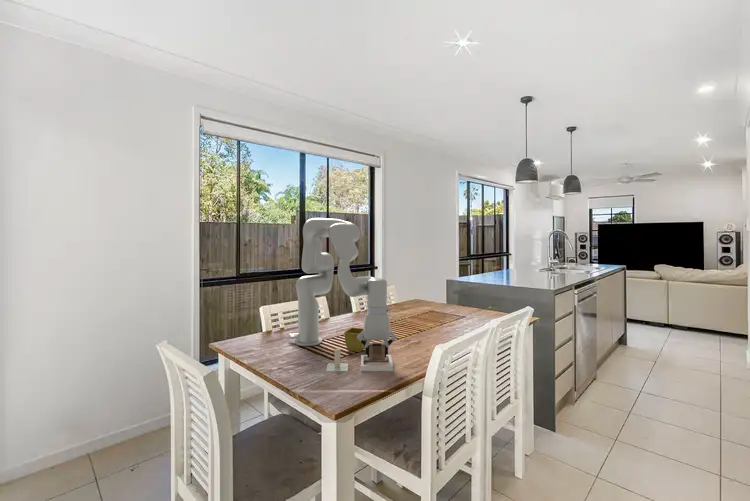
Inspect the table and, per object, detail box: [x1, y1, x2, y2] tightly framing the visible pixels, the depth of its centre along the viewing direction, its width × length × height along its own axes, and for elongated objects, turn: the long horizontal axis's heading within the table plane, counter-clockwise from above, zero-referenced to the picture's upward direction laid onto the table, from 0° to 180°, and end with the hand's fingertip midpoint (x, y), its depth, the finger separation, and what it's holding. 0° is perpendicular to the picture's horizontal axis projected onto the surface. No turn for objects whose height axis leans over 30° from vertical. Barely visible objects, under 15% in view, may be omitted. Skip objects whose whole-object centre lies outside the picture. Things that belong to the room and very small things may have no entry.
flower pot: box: [343, 327, 366, 353], centre depth 160 cm, size 9×9×9 cm
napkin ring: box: [369, 342, 385, 360], centre depth 141 cm, size 6×6×5 cm
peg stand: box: [325, 348, 349, 372], centre depth 139 cm, size 8×8×7 cm
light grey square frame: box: [360, 354, 394, 373], centre depth 142 cm, size 12×12×2 cm
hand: (376, 356), depth 141 cm, fingers closed on napkin ring, 6 cm apart
